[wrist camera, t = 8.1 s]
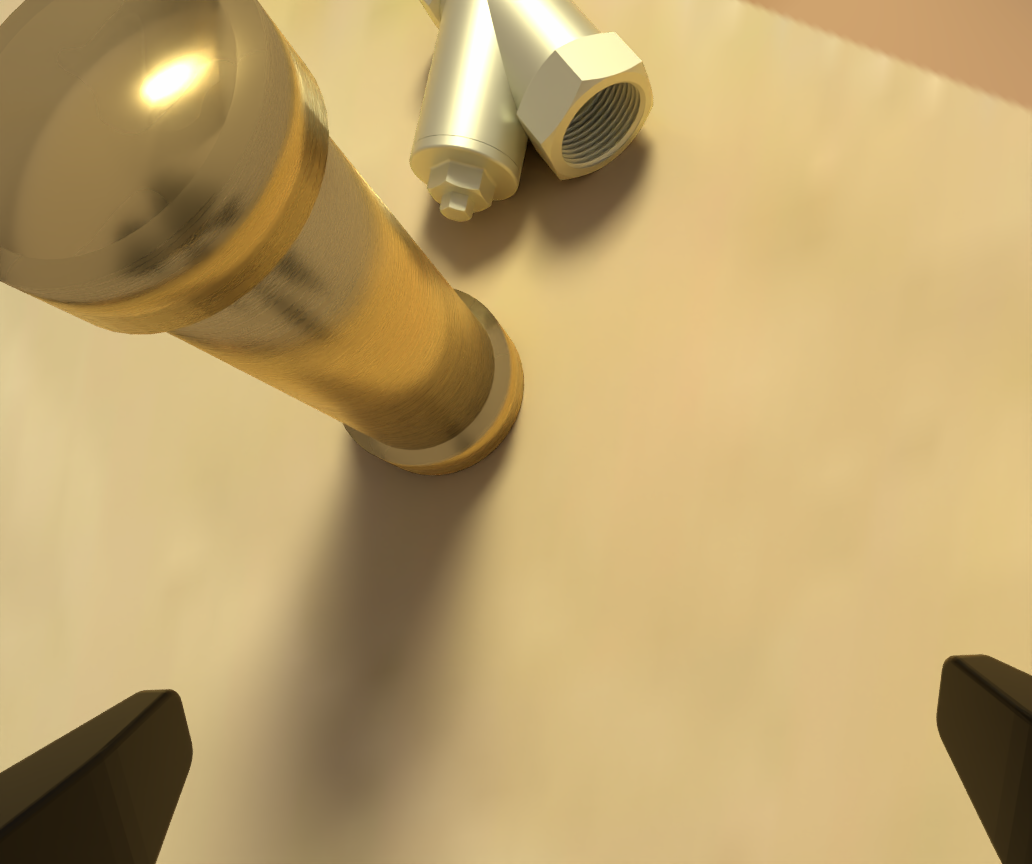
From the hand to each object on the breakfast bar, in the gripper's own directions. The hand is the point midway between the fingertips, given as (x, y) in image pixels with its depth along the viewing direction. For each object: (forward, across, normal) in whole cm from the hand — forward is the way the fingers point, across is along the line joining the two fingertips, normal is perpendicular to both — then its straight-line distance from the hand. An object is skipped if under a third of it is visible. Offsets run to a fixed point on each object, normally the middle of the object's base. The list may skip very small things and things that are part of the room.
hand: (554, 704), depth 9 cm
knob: (+14, +3, 0) cm, 14 cm away
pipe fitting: (+19, +1, -8) cm, 21 cm away
